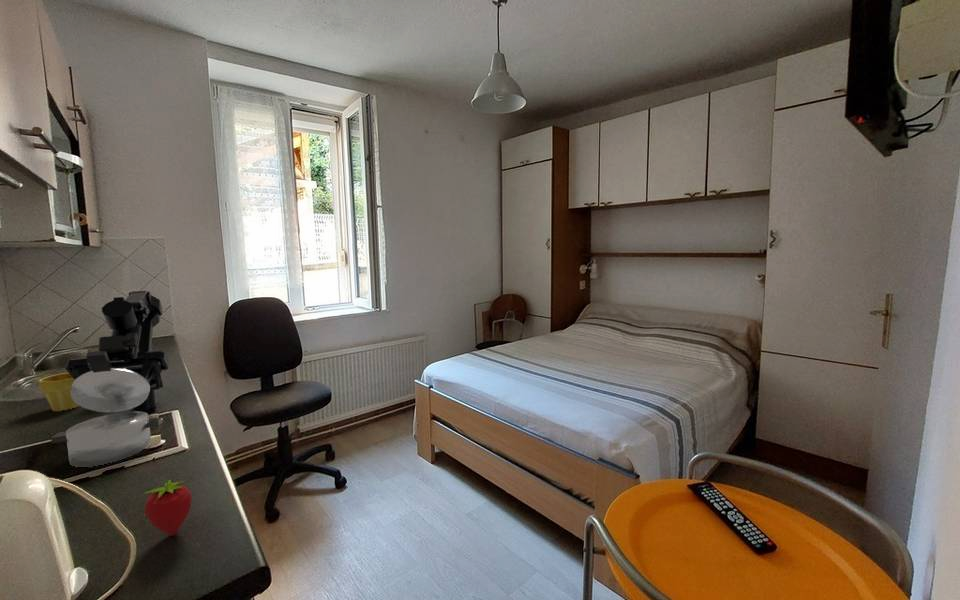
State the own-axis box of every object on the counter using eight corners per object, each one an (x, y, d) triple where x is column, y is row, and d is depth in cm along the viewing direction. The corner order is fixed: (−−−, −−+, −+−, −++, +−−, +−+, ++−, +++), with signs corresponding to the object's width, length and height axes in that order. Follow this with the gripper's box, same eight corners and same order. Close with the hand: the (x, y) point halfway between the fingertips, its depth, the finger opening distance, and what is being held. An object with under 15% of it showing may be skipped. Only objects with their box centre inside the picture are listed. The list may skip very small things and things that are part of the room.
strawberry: (150, 557, 60) (143, 493, 59) (146, 532, 66) (140, 473, 65) (198, 538, 64) (192, 478, 63) (191, 516, 70) (185, 460, 69)
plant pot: (60, 415, 118) (56, 382, 117) (33, 412, 120) (28, 380, 119) (100, 402, 128) (96, 372, 127) (74, 400, 130) (70, 370, 129)
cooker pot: (72, 448, 96) (68, 420, 95) (169, 432, 104) (166, 406, 103) (41, 476, 83) (37, 444, 83) (154, 455, 92) (151, 425, 91)
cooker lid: (81, 417, 96) (84, 409, 98) (155, 406, 102) (156, 399, 104) (51, 359, 85) (55, 352, 87) (136, 351, 92) (138, 345, 93)
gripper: (63, 326, 96) (46, 384, 87) (161, 319, 104) (154, 372, 96) (81, 351, 104) (67, 407, 95) (171, 343, 112) (166, 394, 104)
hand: (114, 394), depth 97 cm, fingers open, 9 cm apart
